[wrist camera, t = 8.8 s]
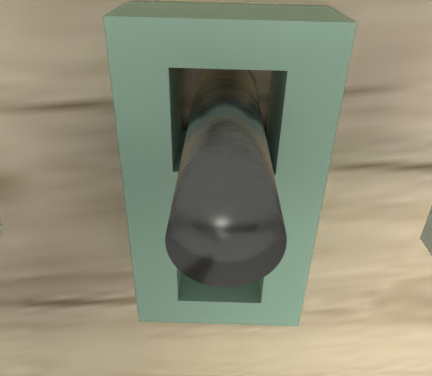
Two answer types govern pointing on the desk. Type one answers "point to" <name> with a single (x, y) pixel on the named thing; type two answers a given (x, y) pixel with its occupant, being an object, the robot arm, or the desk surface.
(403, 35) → the desk surface
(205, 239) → the pin
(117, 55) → the socket block
